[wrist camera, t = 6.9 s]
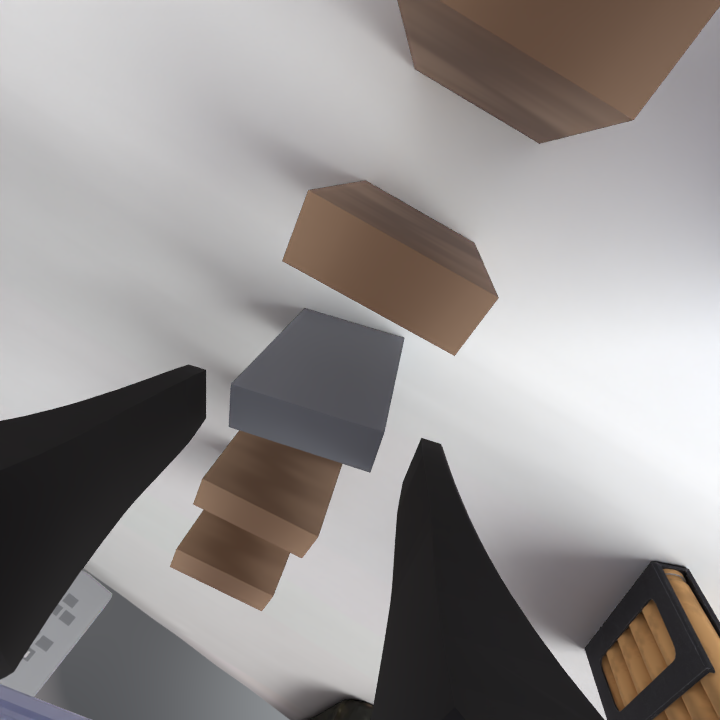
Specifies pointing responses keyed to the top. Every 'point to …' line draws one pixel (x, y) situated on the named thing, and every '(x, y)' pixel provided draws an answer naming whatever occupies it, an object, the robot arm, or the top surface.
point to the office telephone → (59, 634)
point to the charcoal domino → (320, 389)
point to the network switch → (347, 711)
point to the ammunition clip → (659, 651)
